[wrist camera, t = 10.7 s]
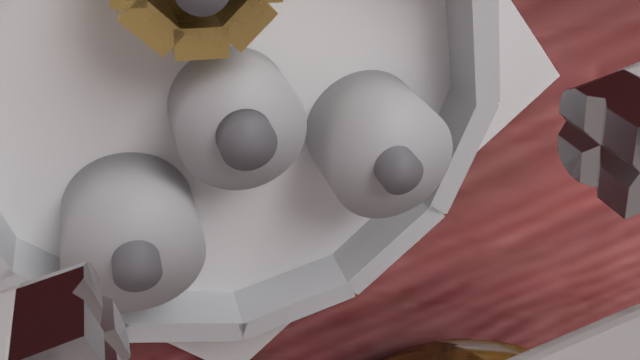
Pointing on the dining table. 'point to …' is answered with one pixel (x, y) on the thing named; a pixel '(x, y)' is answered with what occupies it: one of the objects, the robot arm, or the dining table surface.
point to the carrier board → (125, 110)
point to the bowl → (460, 351)
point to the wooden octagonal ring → (194, 26)
